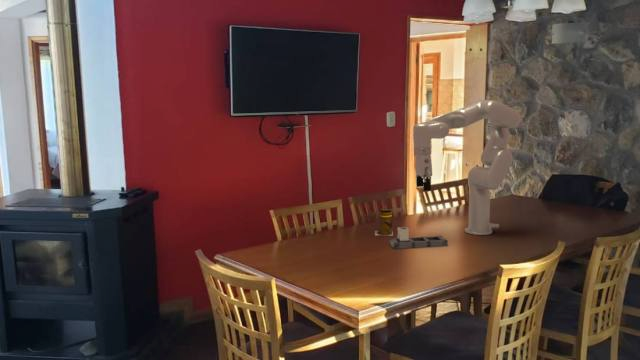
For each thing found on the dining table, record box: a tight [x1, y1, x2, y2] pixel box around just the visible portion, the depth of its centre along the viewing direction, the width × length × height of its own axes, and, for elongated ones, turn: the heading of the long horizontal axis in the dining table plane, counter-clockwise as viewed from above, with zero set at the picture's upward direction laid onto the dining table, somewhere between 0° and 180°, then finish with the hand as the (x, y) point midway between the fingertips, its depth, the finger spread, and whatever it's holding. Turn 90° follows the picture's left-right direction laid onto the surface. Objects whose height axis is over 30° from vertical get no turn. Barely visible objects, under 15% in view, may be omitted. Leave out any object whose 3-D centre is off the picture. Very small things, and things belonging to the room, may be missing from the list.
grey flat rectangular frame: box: [389, 235, 448, 250], centre depth 251 cm, size 24×8×2 cm, turn 98°
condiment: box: [374, 208, 394, 237], centre depth 270 cm, size 7×8×12 cm
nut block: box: [396, 226, 410, 242], centre depth 249 cm, size 4×4×8 cm
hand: (423, 188), depth 256 cm, fingers open, 9 cm apart
